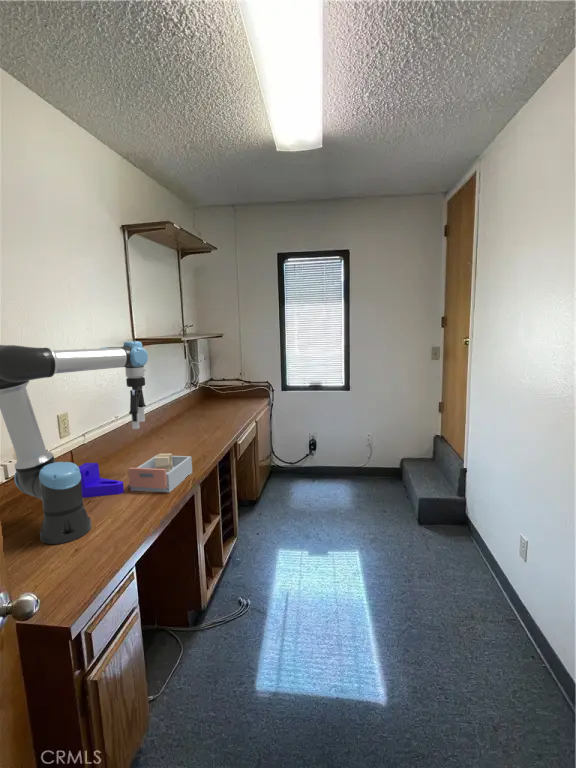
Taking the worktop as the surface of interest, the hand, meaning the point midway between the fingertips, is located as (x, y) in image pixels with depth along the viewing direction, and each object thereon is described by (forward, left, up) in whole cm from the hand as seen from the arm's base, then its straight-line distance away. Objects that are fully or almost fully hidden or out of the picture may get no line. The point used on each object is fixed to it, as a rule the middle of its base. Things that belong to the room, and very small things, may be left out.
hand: (139, 425), depth 169 cm
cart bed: (+3, -8, -27) cm, 28 cm away
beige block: (+9, -6, -24) cm, 26 cm away
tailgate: (-11, -8, -20) cm, 24 cm away
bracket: (-11, +12, -27) cm, 32 cm away
